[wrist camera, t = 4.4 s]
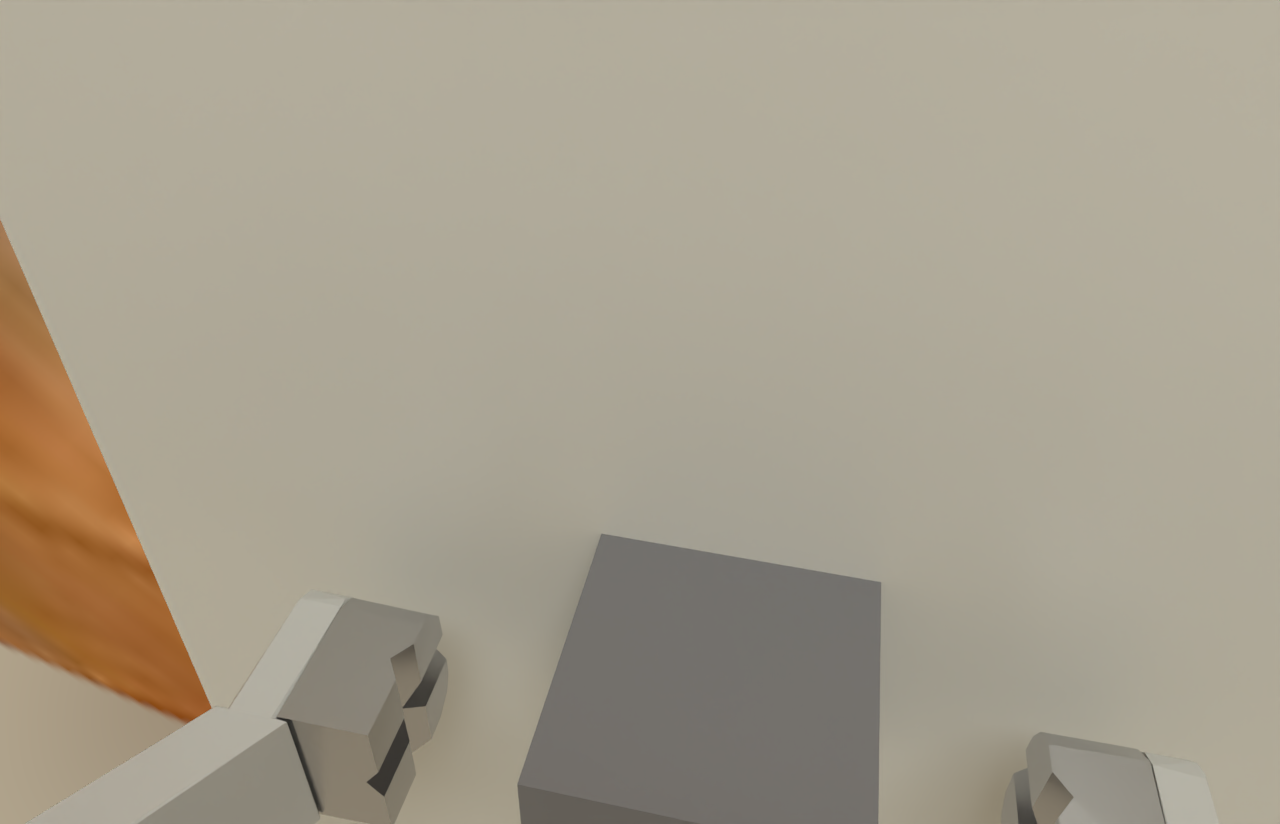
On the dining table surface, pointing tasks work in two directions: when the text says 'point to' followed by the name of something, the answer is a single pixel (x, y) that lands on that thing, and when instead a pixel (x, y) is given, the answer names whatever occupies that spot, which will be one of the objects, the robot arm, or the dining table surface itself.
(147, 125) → the cover
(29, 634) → the dining table surface
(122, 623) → the dining table surface
